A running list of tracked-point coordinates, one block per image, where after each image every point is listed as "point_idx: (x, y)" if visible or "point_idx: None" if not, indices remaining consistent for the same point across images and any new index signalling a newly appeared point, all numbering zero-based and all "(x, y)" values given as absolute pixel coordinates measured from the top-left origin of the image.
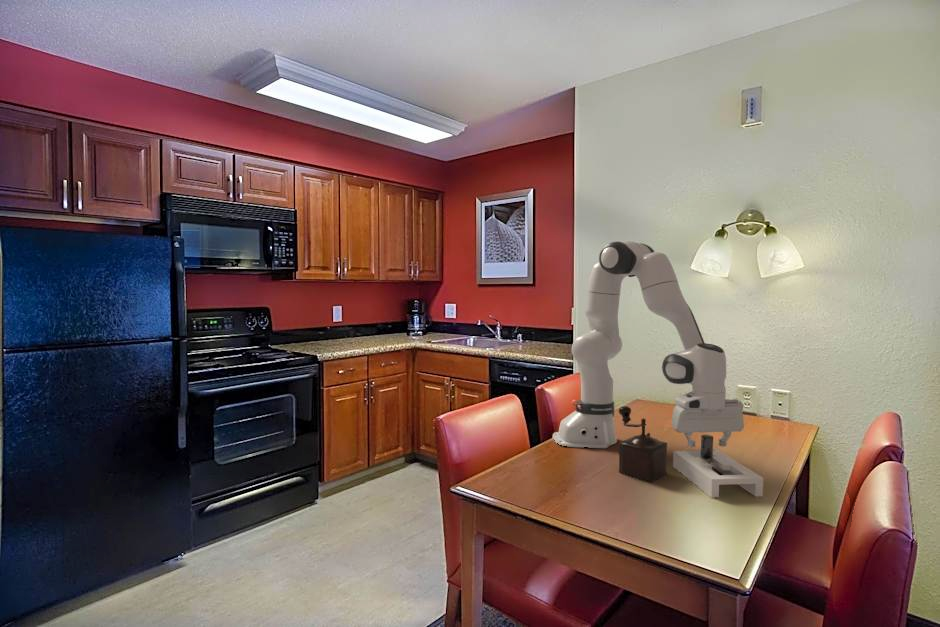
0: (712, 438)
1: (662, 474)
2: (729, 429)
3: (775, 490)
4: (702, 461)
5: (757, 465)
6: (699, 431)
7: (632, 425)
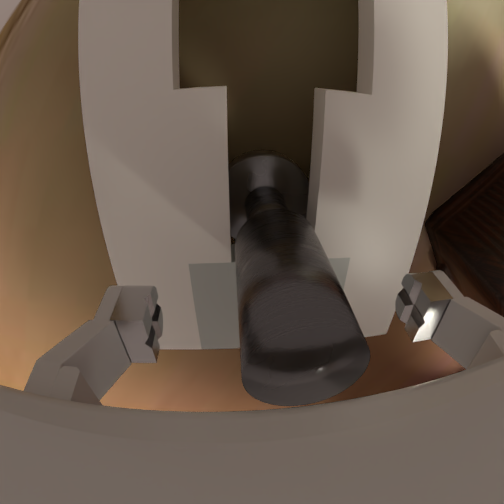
0: (276, 331)
1: (459, 197)
2: (23, 417)
3: (30, 20)
4: (346, 175)
5: (12, 284)
6: (483, 371)
7: None
